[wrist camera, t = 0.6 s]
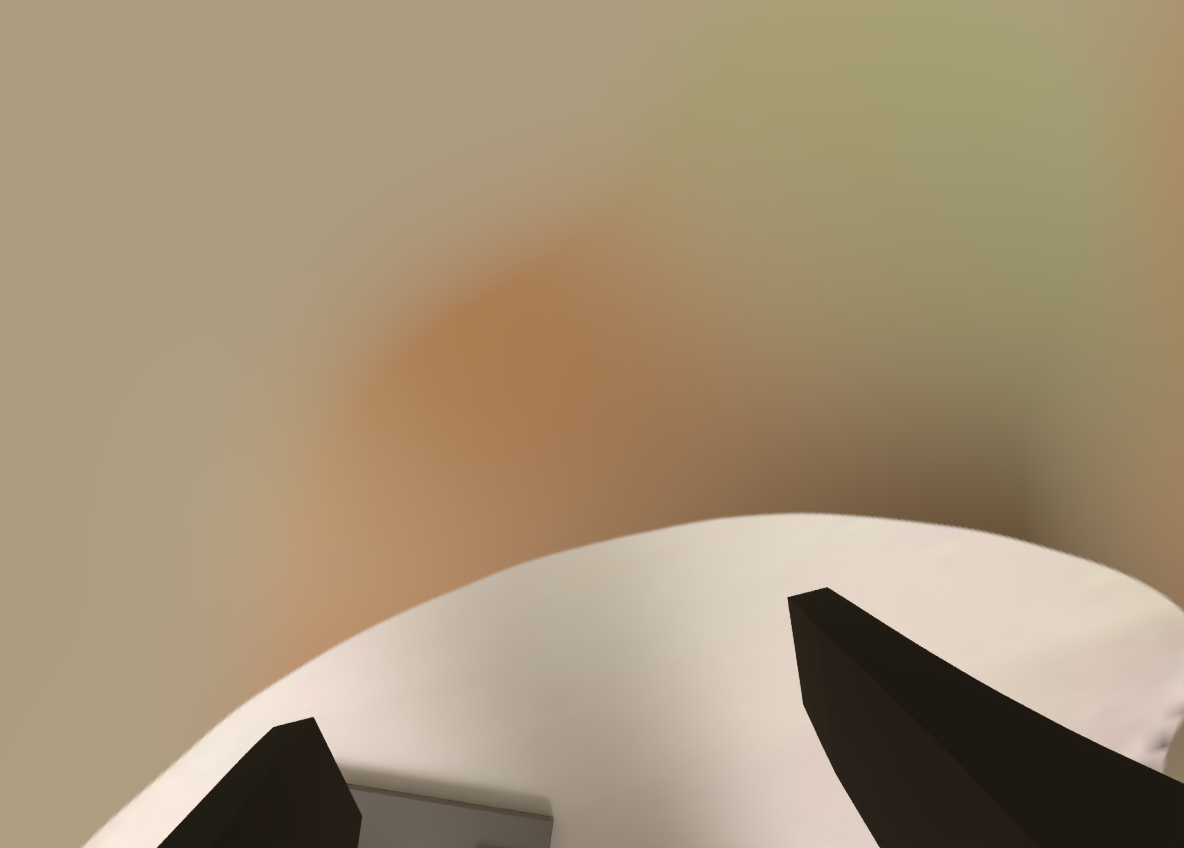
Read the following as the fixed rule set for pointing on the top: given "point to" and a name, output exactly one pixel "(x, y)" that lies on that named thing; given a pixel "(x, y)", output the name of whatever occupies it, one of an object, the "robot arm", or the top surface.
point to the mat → (443, 823)
